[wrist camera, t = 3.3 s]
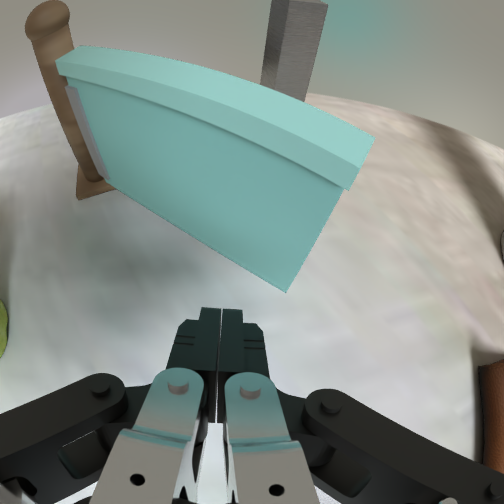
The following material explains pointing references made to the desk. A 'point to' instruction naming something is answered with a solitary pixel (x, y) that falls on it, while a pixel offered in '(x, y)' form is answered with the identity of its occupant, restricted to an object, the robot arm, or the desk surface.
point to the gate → (215, 153)
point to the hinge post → (62, 86)
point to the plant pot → (3, 328)
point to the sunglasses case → (493, 414)
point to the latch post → (292, 45)
